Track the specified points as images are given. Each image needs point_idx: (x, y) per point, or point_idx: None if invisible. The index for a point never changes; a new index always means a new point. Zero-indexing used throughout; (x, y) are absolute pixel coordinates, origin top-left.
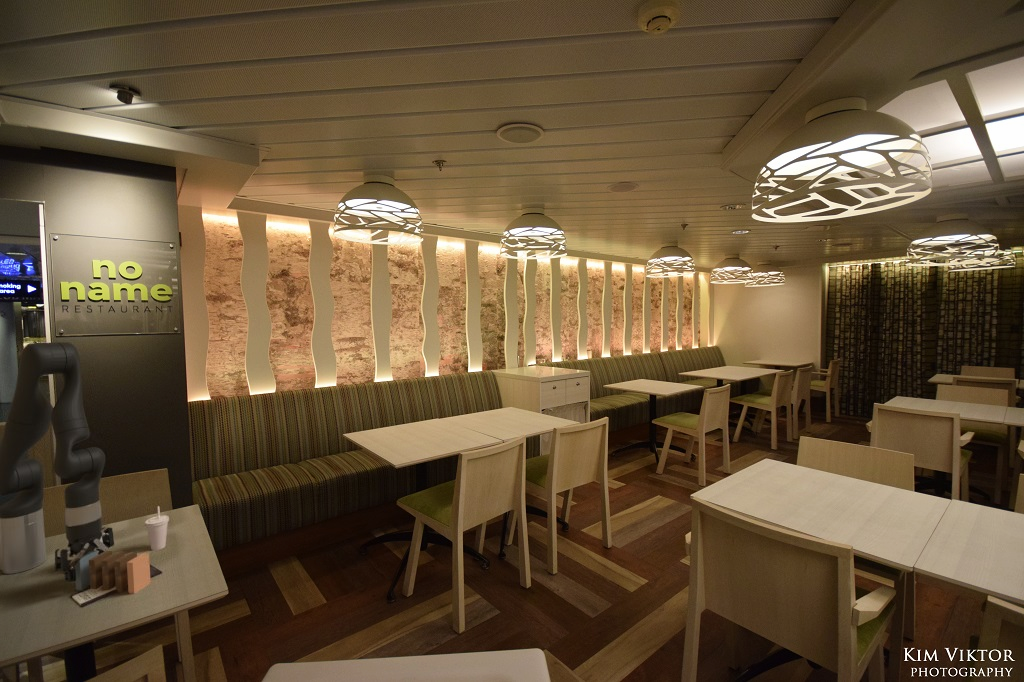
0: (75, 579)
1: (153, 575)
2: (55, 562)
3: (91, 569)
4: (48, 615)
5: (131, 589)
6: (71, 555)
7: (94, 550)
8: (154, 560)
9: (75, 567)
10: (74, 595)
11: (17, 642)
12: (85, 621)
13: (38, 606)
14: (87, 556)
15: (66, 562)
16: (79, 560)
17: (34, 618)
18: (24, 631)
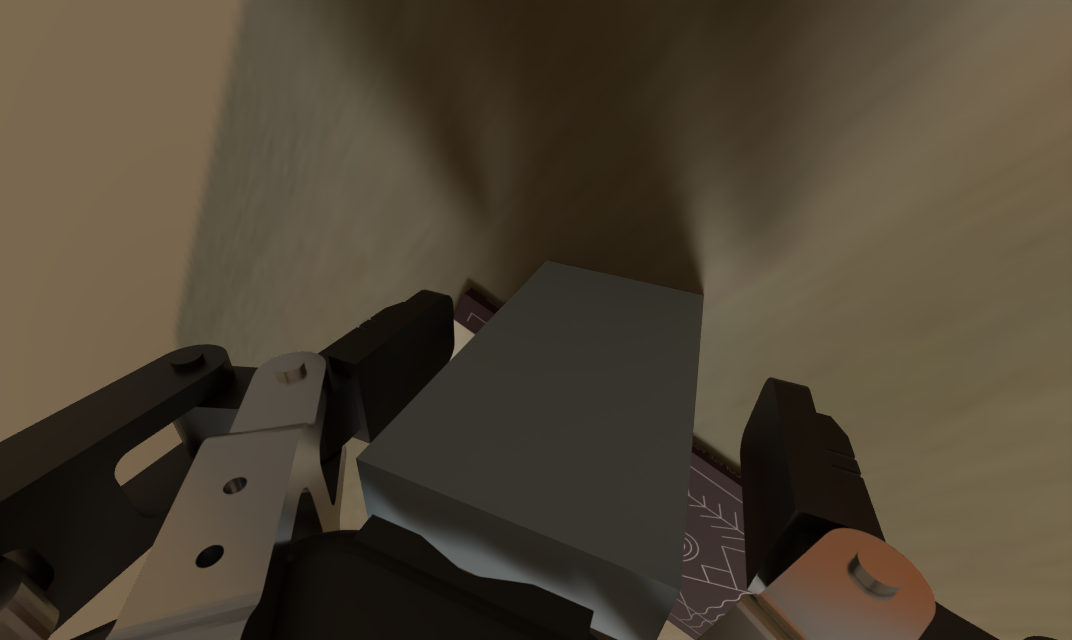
0: (440, 364)
1: (671, 622)
2: (35, 433)
3: None
4: (322, 304)
5: None
6: (261, 504)
7: (656, 618)
8: (982, 599)
9: (439, 382)
10: (461, 325)
11: (200, 320)
12: (345, 475)
13: (353, 153)
14: (477, 564)
15: (161, 523)
16: (378, 513)
17: (287, 249)
18: (232, 290)
